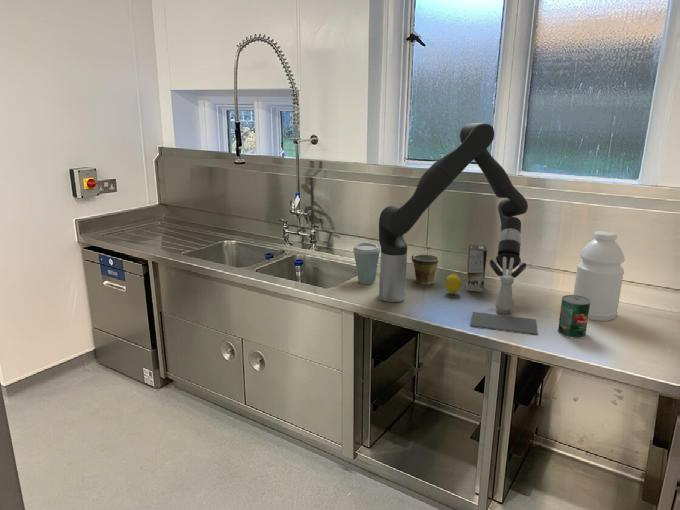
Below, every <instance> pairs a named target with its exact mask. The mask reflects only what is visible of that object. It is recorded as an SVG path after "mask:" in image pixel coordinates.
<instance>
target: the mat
mask: <svg viewBox="0 0 680 510" xmlns="http://www.w3.org/2000/svg"><path fill="white" fill-rule="evenodd" d="M469 326H471V327H472V328H478V327H481V328H480V329H485V328H489V329H488V330H493V329H498V330H497V331H501V330H506V331H505V332H509V331H514V332H513V333H517V332H521V333H520V334H524V333H528V334H527V335H532V334H536V335H535V336H538V326H537V319H536V318H530V317H529V318H528V317H520V316H511V315H503V314H496V313H494V314H493V313H487V312H478V311H472V314H471V318H470V323H469Z"/></svg>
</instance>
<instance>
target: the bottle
mask: <svg viewBox="0 0 680 510" xmlns="http://www.w3.org/2000/svg"><path fill="white" fill-rule="evenodd" d="M617 236H618V235H617V234H616V233H615V232H612V231H607V230H596V231H594V232H593V239H592V240H590V241H589V242H588V243H586V244H585V245H584V246H583V248H582V250H581V251H580V253H579V257H580V258H581V259H582V260H581V261H579V262H578V263H577V265H576V275H575V282H574V290H573V295H577V296H582V297H585V298H587V299H589V300H590V308H589V314H588V320H592V321H601V322H602V321H603V322H605V321H612V320H615V319H616V317H617V315H618V308H619V303H620V297H621V296H620V295H621V290H622V289H621V288H622V283H623V279H624V274H625V270H624V268H623V267H622V266H621V264H623V263H624V262H625V261H626V260H625V256H624V252H623V250H622V248H621V247H620V245H619V244H618V242H616V241H617V238H618V237H617Z"/></svg>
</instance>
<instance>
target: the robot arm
mask: <svg viewBox="0 0 680 510" xmlns="http://www.w3.org/2000/svg"><path fill="white" fill-rule="evenodd" d="M494 139H495V130H494V128H493V126H492V125H491V124H489V123H486V122H472V123H471V122H470V123H467V124H465V125H464V126H463V127H462V128H461V130H460V132H459V140H460V144H459V145H458V147H455V149H454V150H452V151H450V152H449V153H447V154H446V155H444V156H442V157H440V158H439V159H437V161H435V162H433V163H432V164H431V166H430V167H429V168H428V169H426V170H425V172H424V173H423V174H422V176H421V177H420V179H419V181H418V182H417V186H416V188H415V191H414V192H413V194H412V196H411V197H410V198H409V199H408V200H407V201H406V202H405V203H404V204H403V205H402V206H400V207H398V206H396V205H389V206H386V207H385V208H384V209H383V210H382V211H381V212H380V214H379V218H378V219H379V220H378V242H379V246H380V268H379V269H380V271H379V281H378V282H379V283H378V284H379V285H378V286H379V287H378V288H379V289H378V300H379V301H384V302H388V303H400V302H403V301H405V298H406V283H407V281H406V280H407V257H408V245H407V243H406V241H405V240H404V236H403V235H405V234H407V233H408V232H409V231H410V230H411V229H412V228H413V227H414V226H415V224H416V223H417V222H418V220H419V219H420V218H421V216H422V215H423V214H424V212H425V211H426V210H427V209H428V208H429V207H430V206H431V205H432V203H434V201H436V200H437V198H438V197H439V196H440V195H441V194H443V192H444V191H445V190H447V188H449V186H451V184H452V183H453V182H454V181H455V179H456V178H458V176H459V175H460V174H462V173H463V172H464V170H465V169H466V168H467V167H468V166H469V165H470V164H471V163H472V161H474V162H475V164H476V165H477V166H478V168H480V171H482V172H481V173H483V175H484V177H485V178H486V180H487V182H488V184H489V186H490V188H491V189H492V192H493V193H494V195H495V196H496V197H497V198H499V199H503V200H501V201H500V202H499V203H498V205H497V210H498V214H499V218H500V223H501V225H500V234H499V238H498V245H497V246H498V247H497V248H498V249H497V255H496V257H495V259H490V260H489V266H490V267H491V269H492V270H493V271H494V273H495V274H496V275H497V277H501V276H503V275H510V276H512V277H513V278H514V279H515V278H517V277H518V276H519V275H520V274H521V273H522V272H524V271H525V270H526V269H527V263H526V262H523V261H522V260H521V258H520V256H521V255H520V254H521V243H522V237H521V233H522V232H521V231H522V221H521V220H520V218H518V217H517V216H520V215H524V214H526V212H527V211H528V208H529V205H528V201H527V199H526V198H525V196H523V194H521V192H519V190H518V189H517V188H516V187H515V186H514V184H513V183H512V181H511V179H510V177H509V175H508V174H507V171H505V168H503V167H502V166H501V164H499V162H497V160H496V159H495V158H494V157H493V156H492V155H491V153H490V152H489V150H488V148H489V147H490V146H491V145H492V143H493V142H494V141H493V140H494ZM517 266H518V268H517ZM514 269H515V270H514ZM507 270H508V271H507ZM513 270H514V271H513Z"/></svg>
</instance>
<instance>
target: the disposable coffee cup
mask: <svg viewBox="0 0 680 510" xmlns="http://www.w3.org/2000/svg"><path fill="white" fill-rule="evenodd" d="M352 250H353V251H352V252H353V254H354V259H355V260H354V261H355V267H356V268H355V269H356V272H357V273H356V274H357V279H358V282H360V283H359V284H361V283H362V285H371V284H374V283H375V281H376V276H377V271H378V270H377V269H378V266H379V258H380V257H379V256H380V253H381V248H380V247H379V245H378V244H376V243H373V242H369V241H367V242H366V241H365V242H358V243H356V244H355V245H354V247H353V249H352Z"/></svg>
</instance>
